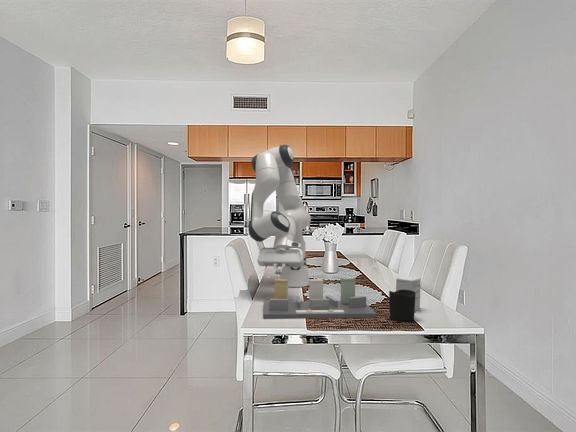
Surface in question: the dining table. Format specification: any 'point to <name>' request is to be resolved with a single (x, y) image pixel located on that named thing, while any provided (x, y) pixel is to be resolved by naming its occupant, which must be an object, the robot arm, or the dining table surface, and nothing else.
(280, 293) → the key ochre
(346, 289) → the key sage
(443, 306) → the dining table surface
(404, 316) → the pen holder
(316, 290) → the key cream
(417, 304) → the supplement box
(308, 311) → the keypad console
